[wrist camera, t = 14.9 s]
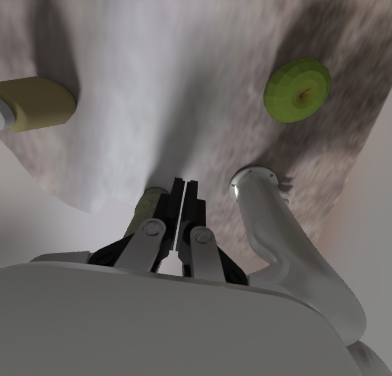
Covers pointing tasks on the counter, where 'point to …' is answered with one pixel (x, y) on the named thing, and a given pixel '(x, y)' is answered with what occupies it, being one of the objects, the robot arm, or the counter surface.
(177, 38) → the counter surface
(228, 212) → the counter surface
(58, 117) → the squeeze bottle
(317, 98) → the apple
